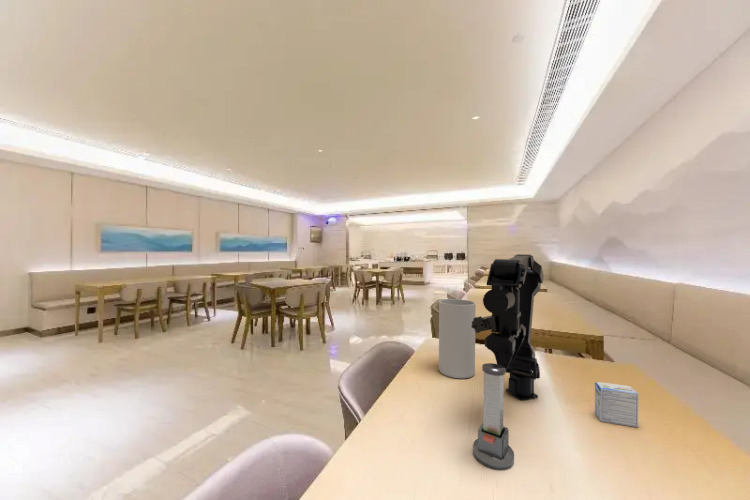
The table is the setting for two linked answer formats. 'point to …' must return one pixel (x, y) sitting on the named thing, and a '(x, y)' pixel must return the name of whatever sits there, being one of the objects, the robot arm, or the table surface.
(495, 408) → the column
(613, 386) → the medicine box
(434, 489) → the table surface
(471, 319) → the cylinder vase
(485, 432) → the stand
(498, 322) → the robot arm
